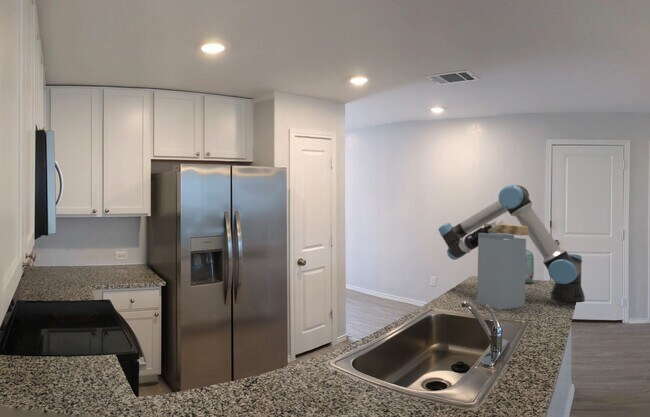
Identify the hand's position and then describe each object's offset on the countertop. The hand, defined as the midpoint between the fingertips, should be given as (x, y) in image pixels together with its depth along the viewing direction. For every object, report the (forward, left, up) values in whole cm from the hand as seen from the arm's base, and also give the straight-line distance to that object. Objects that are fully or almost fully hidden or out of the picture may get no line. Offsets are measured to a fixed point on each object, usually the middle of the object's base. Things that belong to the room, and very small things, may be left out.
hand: (500, 223), depth 228 cm
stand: (-2, +6, -39) cm, 39 cm away
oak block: (-3, +2, -5) cm, 6 cm away
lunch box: (+8, -60, -39) cm, 72 cm away
